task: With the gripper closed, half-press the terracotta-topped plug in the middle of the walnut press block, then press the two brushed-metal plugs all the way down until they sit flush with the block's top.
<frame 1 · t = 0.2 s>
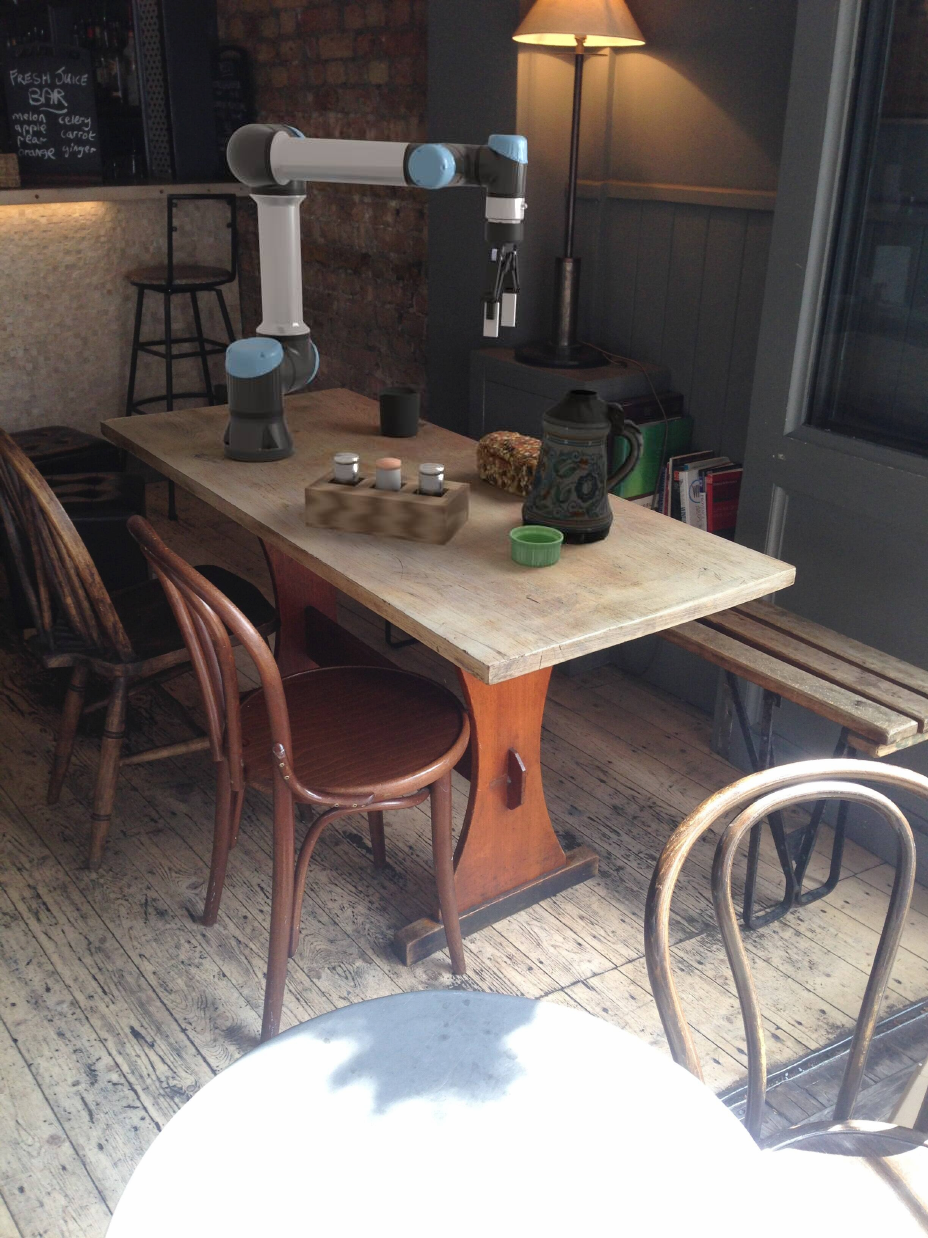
hand: (499, 330, 223), 28 cm above the table, tool pointing down, fingers open, 13 cm apart
plug 2: (431, 484, 192), point 8 cm above the table, slide at 0.0 cm
plug terracotta: (388, 478, 194), point 8 cm above the table, slide at 0.0 cm
ramekin: (534, 560, 184), on the table
press block: (388, 523, 197), on the table
pen holder: (399, 434, 255), on the table
beer stein: (573, 530, 198), on the table
bread: (522, 488, 221), on the table
plug 1: (346, 473, 196), point 8 cm above the table, slide at 0.0 cm
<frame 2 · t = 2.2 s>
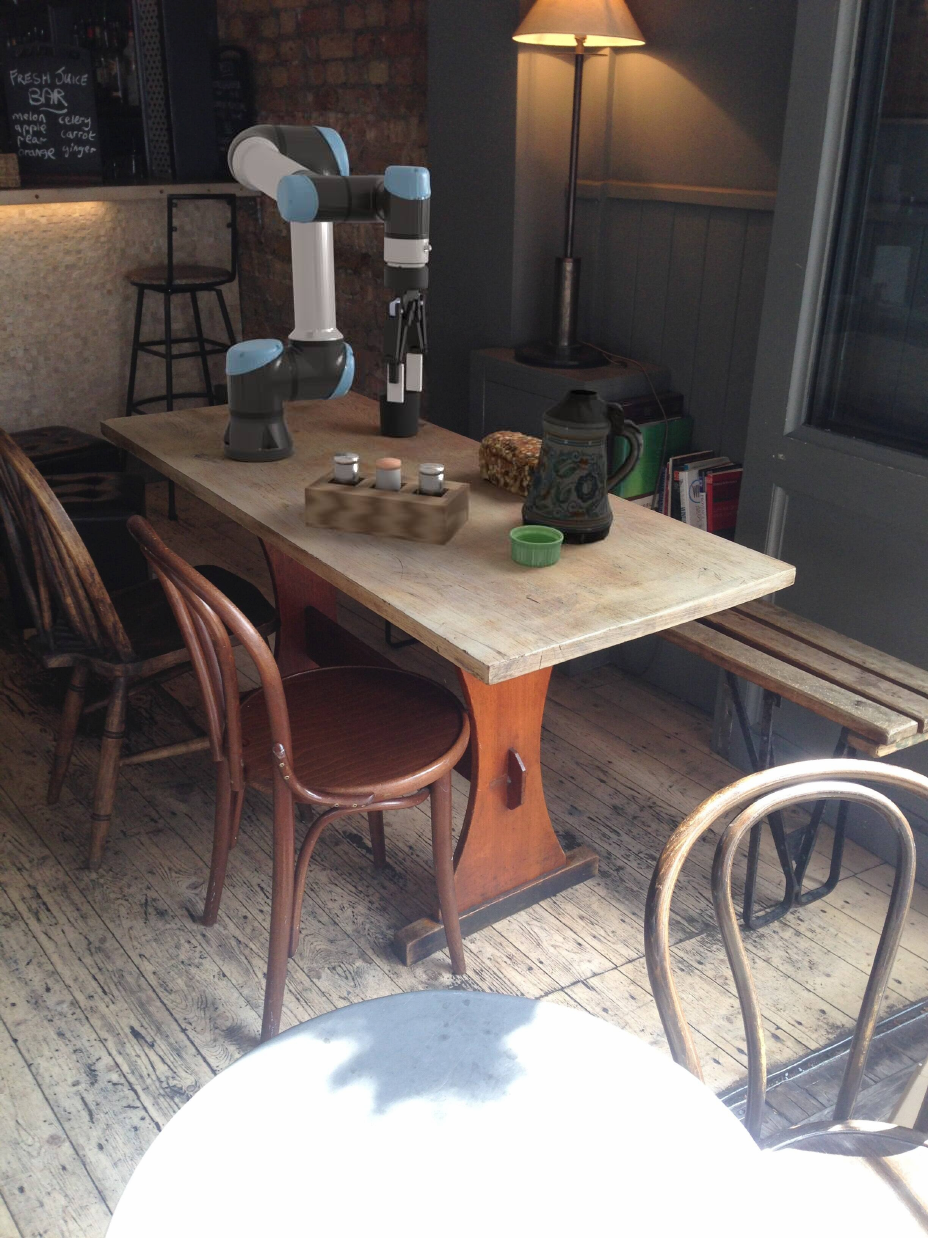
hand: (404, 395, 195), 21 cm above the table, tool pointing down, fingers open, 9 cm apart
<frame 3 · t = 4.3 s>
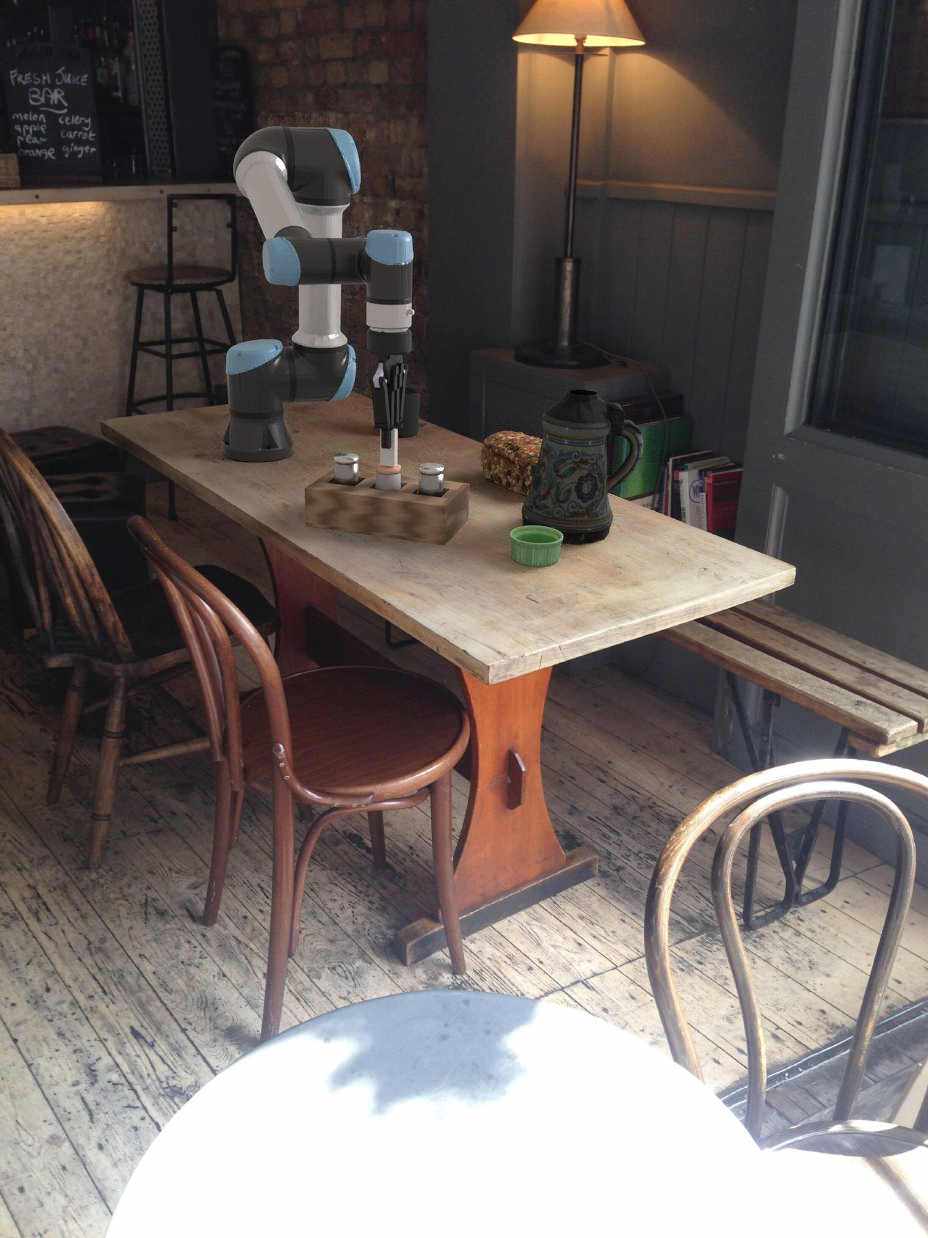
hand: (388, 464, 193), 11 cm above the table, tool pointing down, fingers closed
plug terracotta: (388, 483, 194), point 7 cm above the table, slide at 0.9 cm, touching gripper
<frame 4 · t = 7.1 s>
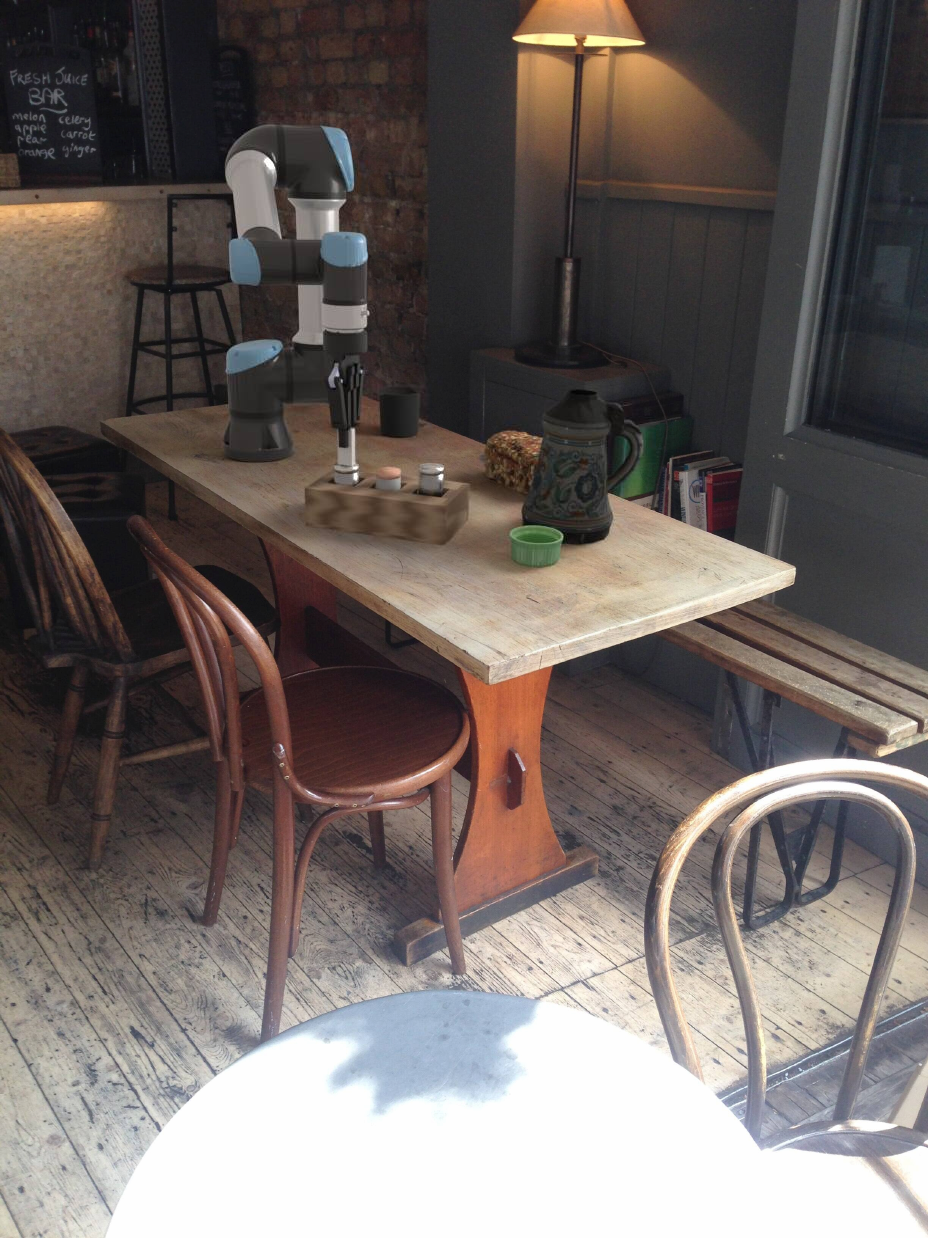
hand: (346, 463, 195), 10 cm above the table, tool pointing down, fingers closed
plug terracotta: (388, 488, 195), point 7 cm above the table, slide at 1.7 cm
plug 1: (346, 482, 197), point 7 cm above the table, slide at 1.6 cm, touching gripper
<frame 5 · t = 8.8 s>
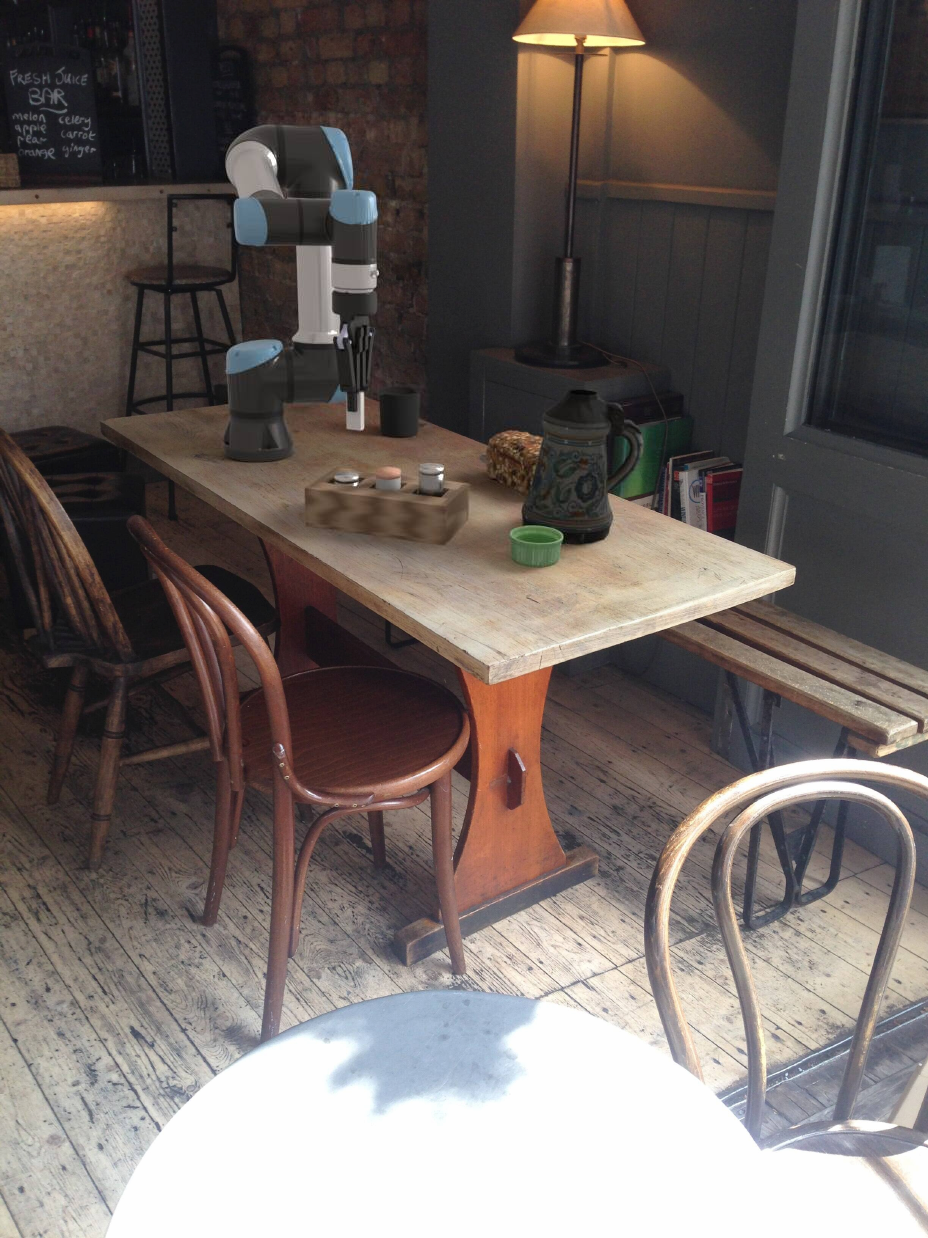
hand: (355, 428, 192), 17 cm above the table, tool pointing down, fingers closed
plug 1: (346, 492, 197), point 5 cm above the table, slide at 3.5 cm
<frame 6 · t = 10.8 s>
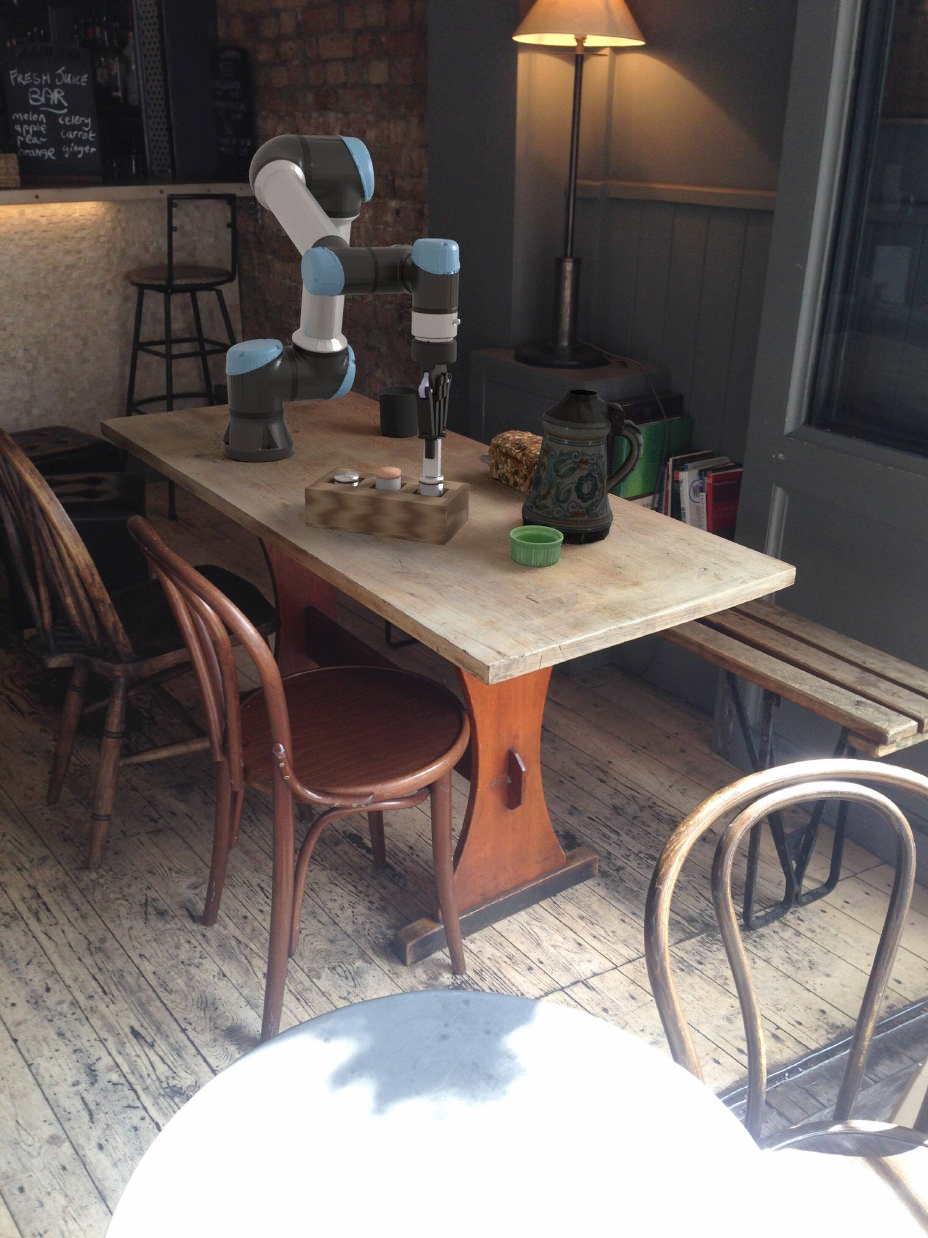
hand: (431, 474, 191), 10 cm above the table, tool pointing down, fingers closed
plug 2: (430, 493, 193), point 6 cm above the table, slide at 1.8 cm, touching gripper
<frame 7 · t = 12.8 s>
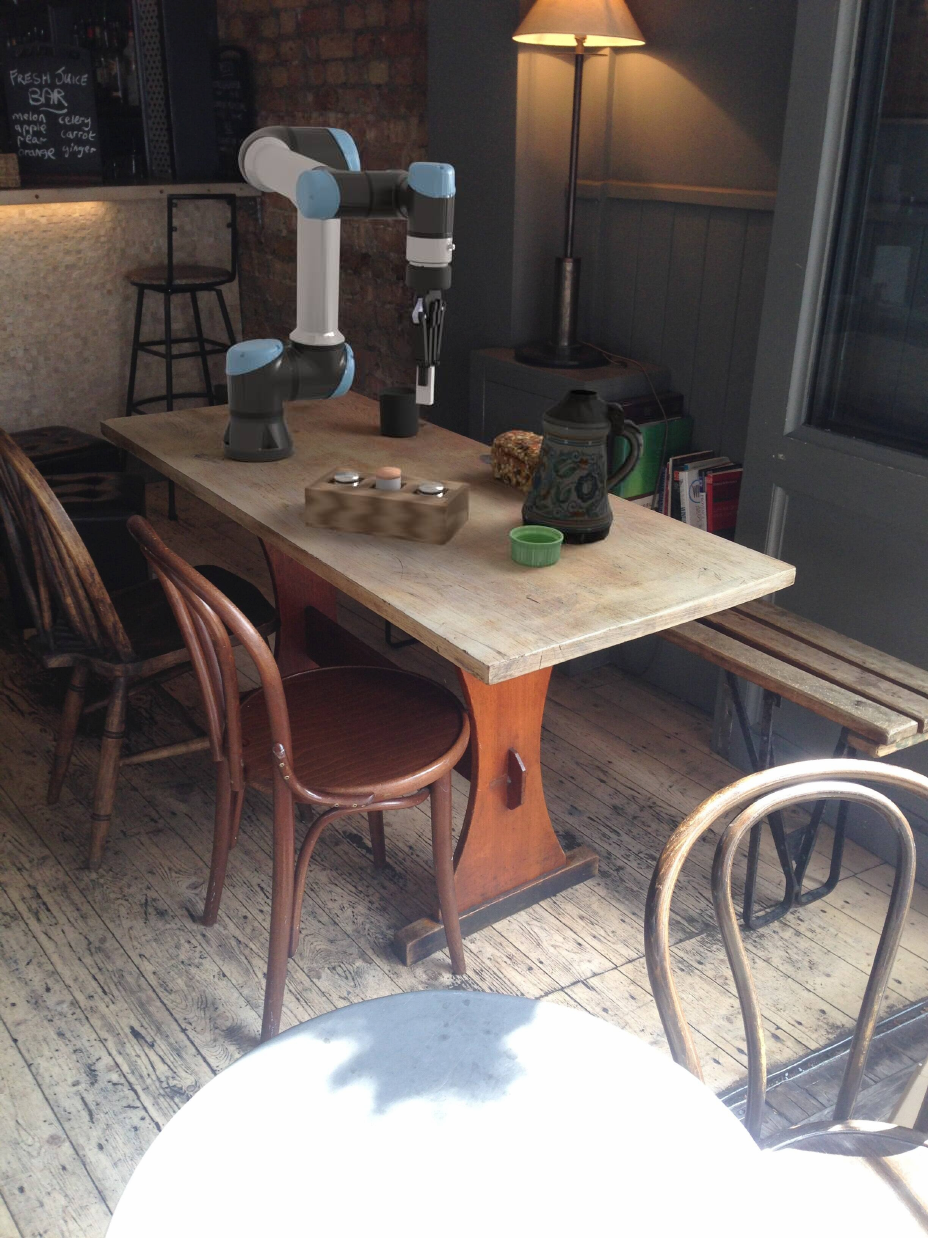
hand: (424, 402, 192), 21 cm above the table, tool pointing down, fingers closed
plug 2: (430, 503, 193), point 5 cm above the table, slide at 3.5 cm
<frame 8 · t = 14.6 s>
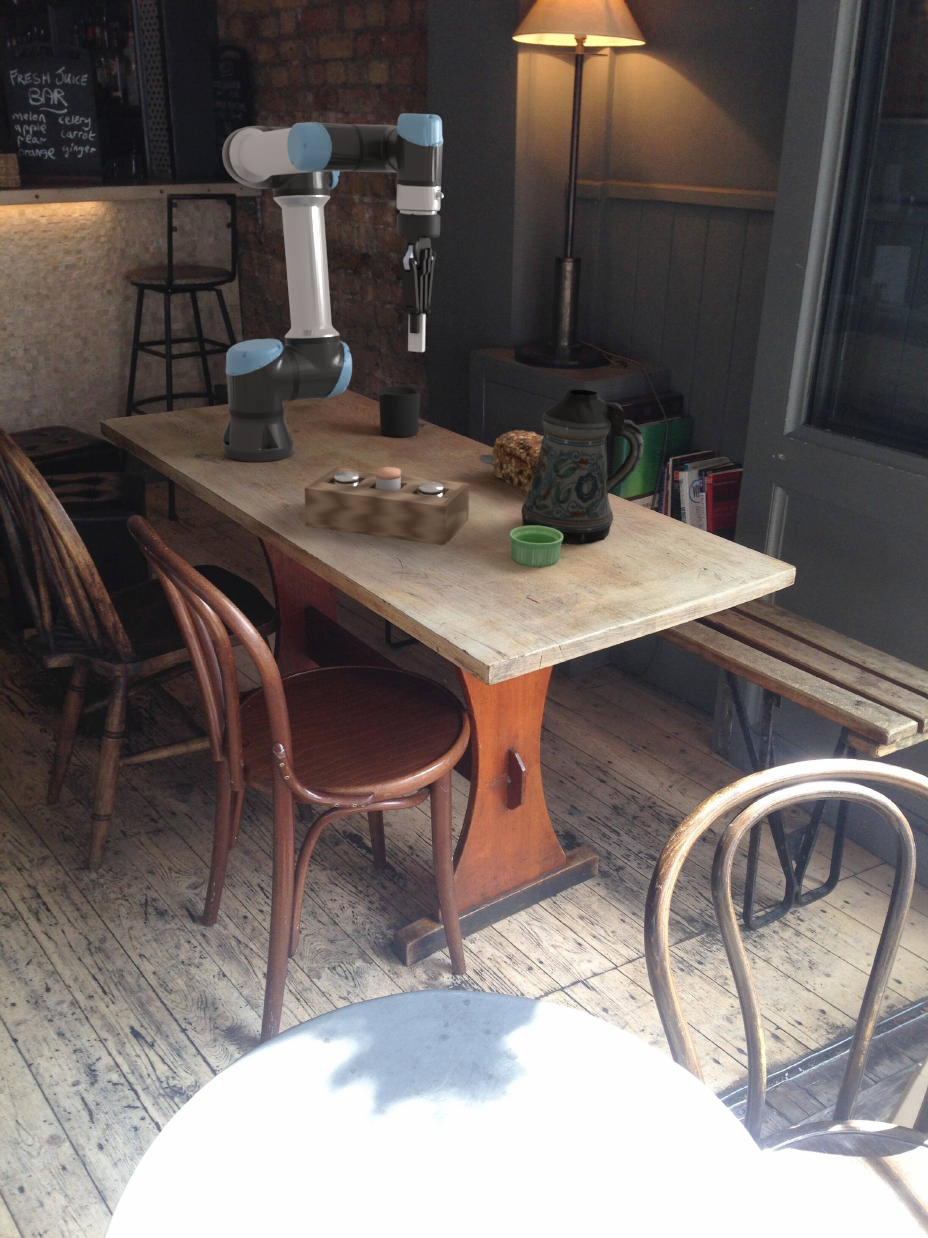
hand: (416, 350, 198), 28 cm above the table, tool pointing down, fingers closed
at the end: plug terracotta slide at 1.7 cm; plug 1 slide at 3.5 cm; plug 2 slide at 3.5 cm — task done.
